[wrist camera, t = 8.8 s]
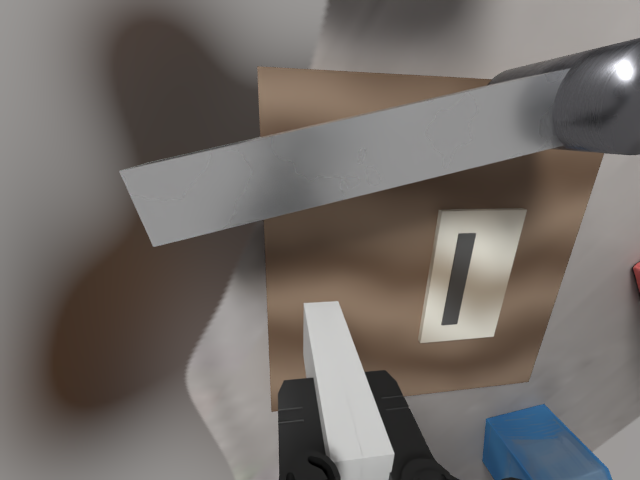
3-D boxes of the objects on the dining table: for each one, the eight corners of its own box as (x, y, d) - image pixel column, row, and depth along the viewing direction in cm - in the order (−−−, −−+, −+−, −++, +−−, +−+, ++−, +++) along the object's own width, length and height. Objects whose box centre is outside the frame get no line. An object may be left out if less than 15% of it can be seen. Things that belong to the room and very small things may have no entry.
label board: (258, 71, 17) (257, 64, 15) (600, 89, 20) (635, 85, 18) (271, 395, 24) (271, 417, 23) (515, 369, 28) (533, 386, 26)
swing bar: (543, 61, 17) (716, 20, 10) (538, 136, 18) (688, 142, 12) (160, 148, 15) (79, 163, 9) (189, 222, 17) (138, 281, 10)
